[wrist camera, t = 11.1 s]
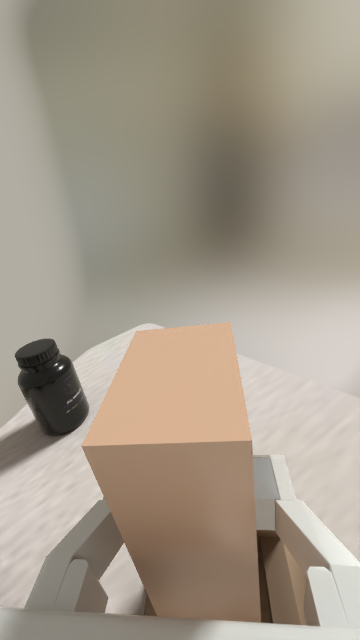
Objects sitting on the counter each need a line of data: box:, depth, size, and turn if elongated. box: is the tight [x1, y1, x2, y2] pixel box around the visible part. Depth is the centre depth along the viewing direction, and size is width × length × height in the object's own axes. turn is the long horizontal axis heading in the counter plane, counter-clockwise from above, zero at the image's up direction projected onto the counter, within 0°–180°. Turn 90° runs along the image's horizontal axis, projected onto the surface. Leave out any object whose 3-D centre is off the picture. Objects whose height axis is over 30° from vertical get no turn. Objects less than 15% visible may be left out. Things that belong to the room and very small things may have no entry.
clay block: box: [82, 322, 261, 623], centre depth 10 cm, size 4×5×12 cm
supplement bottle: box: [15, 339, 89, 435], centre depth 37 cm, size 7×7×12 cm
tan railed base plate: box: [144, 530, 307, 625], centre depth 15 cm, size 12×12×9 cm
